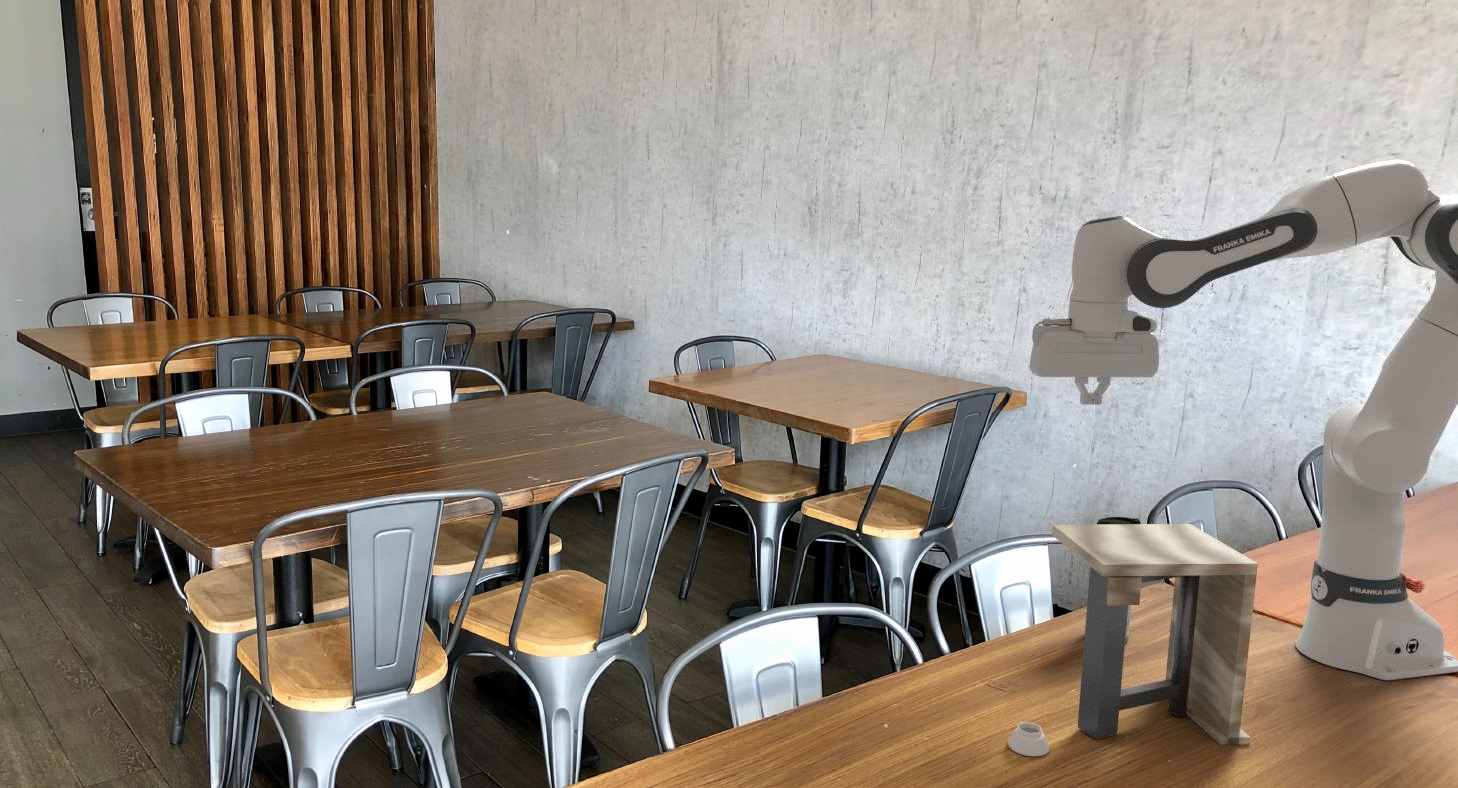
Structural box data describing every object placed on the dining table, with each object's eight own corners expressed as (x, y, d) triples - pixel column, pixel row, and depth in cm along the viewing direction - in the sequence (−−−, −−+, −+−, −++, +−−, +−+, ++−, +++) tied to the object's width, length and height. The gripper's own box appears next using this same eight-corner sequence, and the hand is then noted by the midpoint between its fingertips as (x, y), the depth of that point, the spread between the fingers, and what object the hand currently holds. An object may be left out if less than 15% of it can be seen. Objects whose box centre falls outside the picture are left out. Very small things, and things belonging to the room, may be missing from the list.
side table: (1184, 686, 155) (1200, 524, 151) (1249, 744, 139) (1269, 563, 134) (1040, 688, 154) (1052, 524, 150) (1089, 748, 137) (1104, 564, 133)
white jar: (999, 746, 137) (1031, 763, 133) (1001, 725, 137) (1033, 741, 133) (1025, 736, 140) (1056, 751, 136) (1026, 715, 140) (1058, 730, 136)
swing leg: (1173, 705, 149) (1188, 550, 145) (1193, 716, 145) (1209, 558, 142) (1077, 727, 142) (1090, 565, 138) (1096, 739, 139) (1109, 574, 135)
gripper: (1040, 320, 167) (1035, 407, 169) (1167, 321, 168) (1159, 408, 171) (1026, 316, 173) (1021, 400, 175) (1148, 317, 175) (1141, 401, 177)
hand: (1090, 404), depth 173 cm, fingers closed
